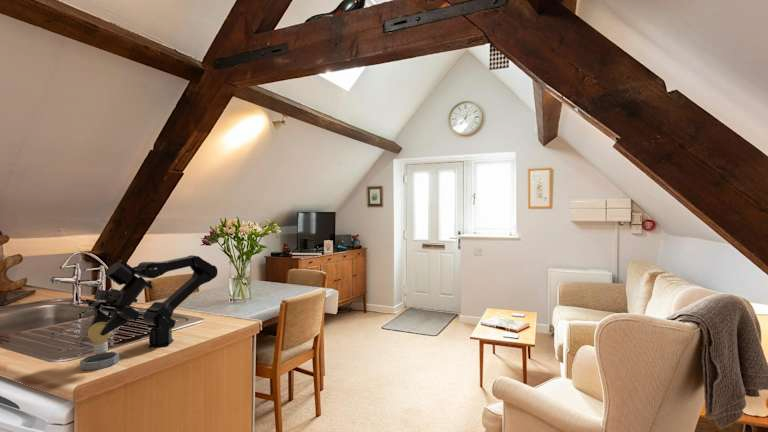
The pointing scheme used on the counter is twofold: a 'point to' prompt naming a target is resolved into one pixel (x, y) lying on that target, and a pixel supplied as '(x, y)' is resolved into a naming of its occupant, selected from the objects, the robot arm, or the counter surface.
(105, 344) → the light bulb
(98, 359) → the saucer
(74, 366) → the counter surface
